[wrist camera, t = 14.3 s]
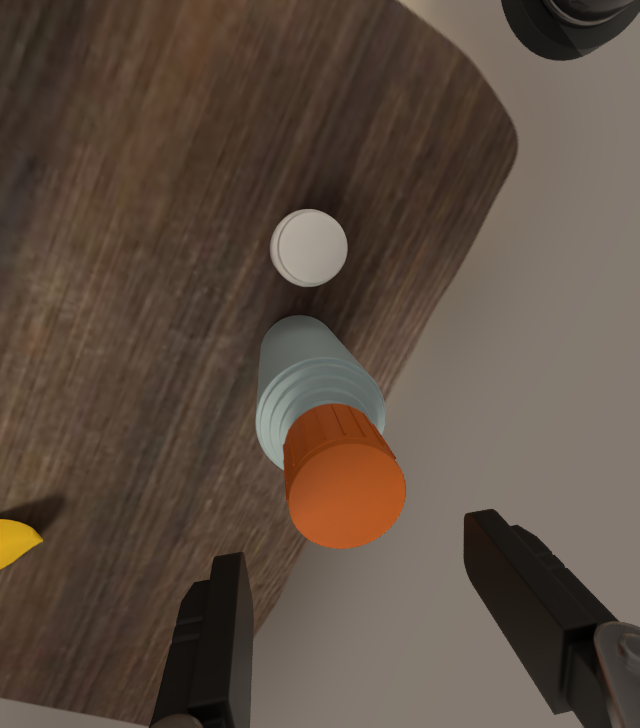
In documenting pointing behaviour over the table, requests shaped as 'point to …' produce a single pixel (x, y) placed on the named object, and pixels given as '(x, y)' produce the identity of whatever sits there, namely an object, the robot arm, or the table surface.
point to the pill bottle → (308, 248)
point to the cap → (340, 477)
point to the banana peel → (15, 540)
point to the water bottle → (307, 380)
